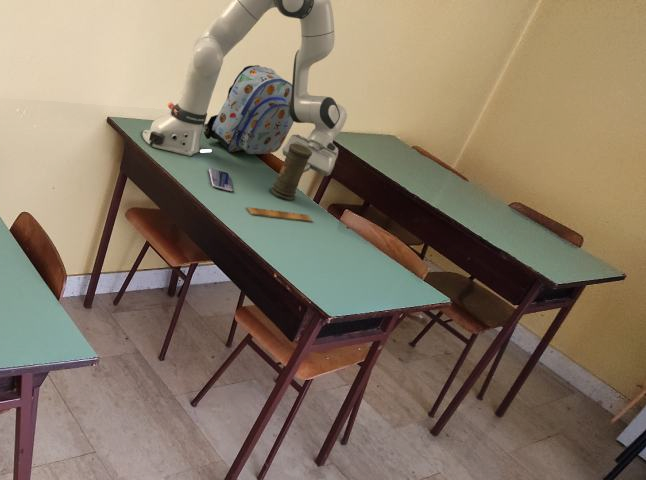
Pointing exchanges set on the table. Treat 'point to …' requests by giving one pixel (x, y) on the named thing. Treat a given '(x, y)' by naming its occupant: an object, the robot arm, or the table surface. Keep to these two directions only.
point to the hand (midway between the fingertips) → (297, 173)
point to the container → (291, 172)
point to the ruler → (279, 214)
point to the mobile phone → (220, 180)
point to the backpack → (253, 113)
